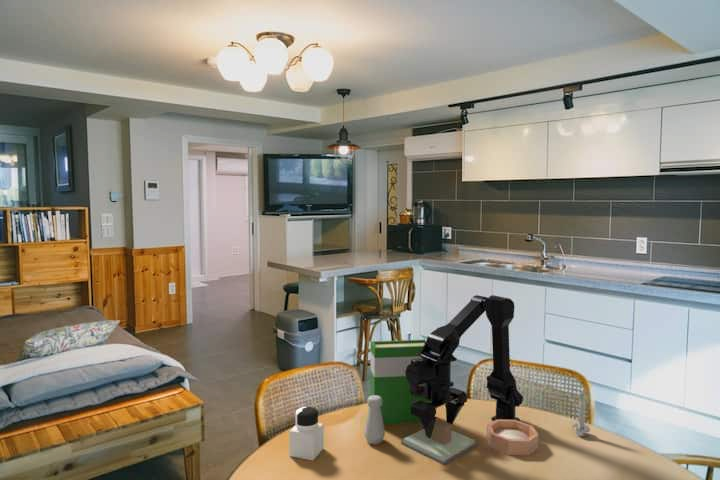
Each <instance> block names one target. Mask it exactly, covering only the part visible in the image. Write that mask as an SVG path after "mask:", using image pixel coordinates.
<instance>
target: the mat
mask: <svg viewBox="0 0 720 480" xmlns="http://www.w3.org/2000/svg"><path fill="white" fill-rule="evenodd" d="M400 444H401V445H403V446H404V447H406V448H408V449H411V450H413V451H415V452H417V453H418V454H421V455H423V456H426V457H427V458H429V459H431V460H433V461H435V462H437V463H439V464H441V465H442V466H445V465H446V464H448V463H449V462H451V461H453V460H455V459H456V458H459V456H462V455H464V454H465V453H466V452H468V451H470V450H472V449H473V448H475V447H477V445H478V444H477V442H475V444H473V445H471V446H470V447H468V448H466V449H464V450H463V451H461V452H459V453H458V454H456V455H454V456H452V457H451V458H449V459H447V460H446V461H442V460H440V459H438V458H436V457H434V456H432V455H430V454H428V453H426V452H424V451H422V450H420V449H418V448H416V447H413V446H411V445H409V444H407V443H405V442H404V439H403V440H402V441H400Z"/></svg>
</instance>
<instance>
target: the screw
mask: <svg viewBox="0 0 720 480" xmlns="http://www.w3.org/2000/svg"><path fill="white" fill-rule="evenodd" d="M577 419H578V420H577V423H574V424H573V425H572V426H571V428H572V429H573V430H574V431H575V434H576V436H578V437H580V438H581V437H582V438H584V437H586V436H587V433H590V432H591V428H590V427H589V426H588V425H586V422H585V420H586V393H585V392H583V391H581V392H580V393H579V402H578V416H577Z"/></svg>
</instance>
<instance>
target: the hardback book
mask: <svg viewBox="0 0 720 480" xmlns="http://www.w3.org/2000/svg"><path fill="white" fill-rule="evenodd" d="M425 342H426V339H405V340H404V339H402V340H377V341H376V340H373V341H370V368H369V370H370V374H369V375H370V376H369V377H370V380H369V381H370V383H369V387H370V388H369V391H370V392H369V397H370V396H372V395H378V396H380V397H381V398H382V400H383V403H382V406H380V409H381V414H382V419H383V425H384V426H386V425H388V426H389V425H398V424H399V425H400V424H401V425H403V424H415V423H416V424H417V423H421V424H422V422H421V420H420V418H419V417H416V416H415V415H413V414H411V413H410V410H411V405H412V404H414V403H416V402H418V401H424V402H427V403H430V400H426V399H424V397H418V398H415V396H412V395H411V393H410V385H411V384H410V383H409V382H408V380H407V378H406V374H405V370H406V368H407V366H408V365H409V364H411V359H419V358H422V357H420V356H419V354H420V352H421V350H422V348H423V346H424V344H425ZM429 353H431V354H432V352H431V351H430V352H429Z"/></svg>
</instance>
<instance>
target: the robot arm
mask: <svg viewBox="0 0 720 480" xmlns="http://www.w3.org/2000/svg"><path fill="white" fill-rule="evenodd" d="M484 313H485V316H486V318H487V320H488V322H489V323H490V324H491V325H490V326H491V342H492V344H491V345H492V347H491V348H492V368H493V369H492V371H491V373H490V374H489V375H487V376H486V389H487V391H488V393H489V397H490V399H494V400H495V401H496V403H495V415H494V416H492V417H490V418H491V421H495V420H497V419H503V420H517V421H520V420H521V419H520V418H519V417H516V407H517V408H518V407H520V406H521V405H522V404H523V401H524V396H523V395H522V394H521V392H519V390H518V388H517V387H518V386H517V381H516V378H515V376H514V375H513V373H512V372H511V362H510V361H511V357H510V330H509V326H510V324H511V323H512V321H513V319H514V317H515V303H514V301H513V300H512V299H511V298H509V297H503V296H499V295H494V294H493V295H492V294H491V295H489V296H482V295H478V294H476V295H473V296H472V297H471V298H470V301H469V302H468V303H467V304H466V305H465V306H464V307H463V308H462V309H461V310H460V311H459V312H458V313H457V314H456V315H455V316H454V317H453V318H452V319H451V320H449V322H448V323H447V324H445V325H443V326H440V327H437V328H435V329H434V330H433V331H431V332H430V333H429V335H428V336H427V338H426V339H425V344H424V346H423V348H422V350H421V352H420V354H419V356H420V357H422V358H419V359H411V364H409V365H408V366H407V368H406V370H405V374H406V378H407V380H408V382H409V383H410V384H411V385H410V393H411V395H412V396H415V398H418V397H424V399H426V400H430V403H427V402H424V401H418V402H416V403H414V404H412V405H411V410H410V413H411V414H413V415H415V416H416V417H419V418H420V420H421V424H422V427H423V429H424V430H425V433H426V436H427V437H428V438H431V435H432V432H433V428H434V425H435V421H436V418H437V417H436V414H437V409H439V408H441V407H443V406H445V419H446V421H445V422H448V423H450V424H452V425H453V424H454V422H455V420H456V419H457V417H458V415H459V413H460V411H461V410H462V409H463V407H464V406H465V403H467V402H468V394H467V393H466V391H464V390H461V389H458V388H456V387H454V384H455V383H454V382H453V381H451V371H452V368H451V367H452V362H457V357H456V356H454V355H453V354H454V353H455V351H456V349H457V348H458V347H459V345H460V342H461V341H460V340H461V337H462V336H463V335H464V334H465V333H466V332H467V331H468V330H469V329H470V327H471V326H472V325H474V323H475V322H476V321H478V319H479V318H480V317H481V316H482V315H483V314H484ZM430 351H431V353H429V352H430ZM436 354H437V355H436Z"/></svg>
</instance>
